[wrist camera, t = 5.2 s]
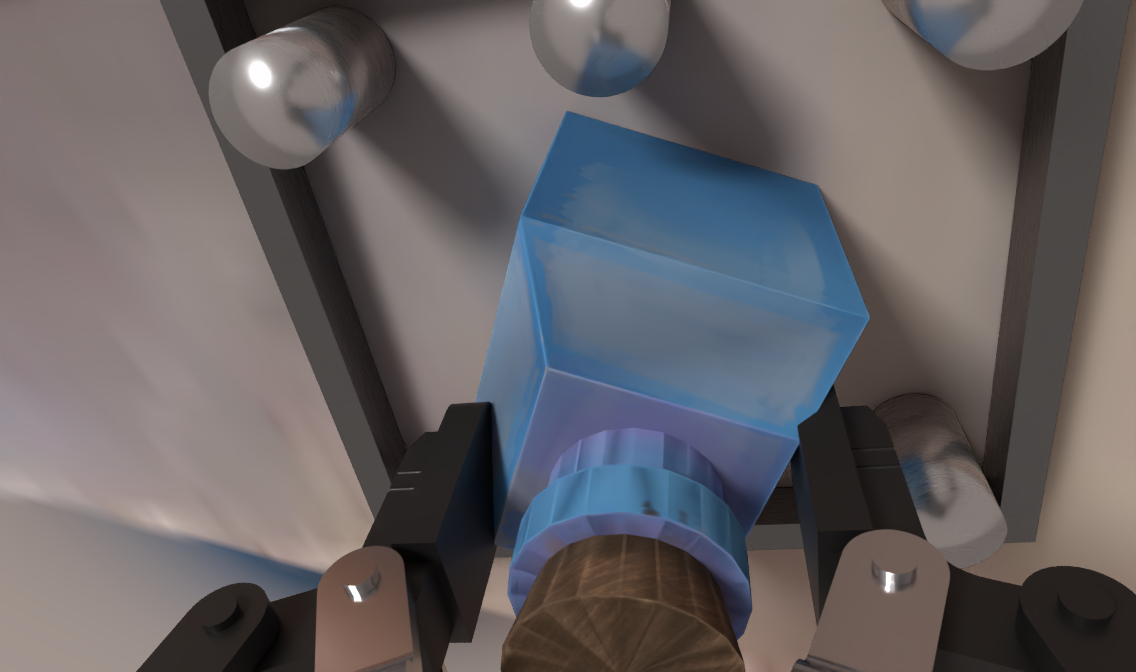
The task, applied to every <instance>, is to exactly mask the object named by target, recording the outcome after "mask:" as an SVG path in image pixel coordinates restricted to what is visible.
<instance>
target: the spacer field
mask: <svg viewBox="0 0 1136 672" xmlns="http://www.w3.org/2000/svg"><path fill="white" fill-rule="evenodd" d="M160 2H161V4H162V7H163V9H164V12H165V14H166V16H167V19H168V21H169V24H170V26H171V28H172V31H173V33H174V36H175V38H176V41H177V43H178V45H179V48H180V50H181V53H182V55H183V57H184V60H185V62H186V65H187V67H188V70H189V72H190V74H191V77H192V79H193V82H194V84H195V86H196V89H197V91H198V94H199V96H200V99H201V101H202V103H203V106H204V108H205V111H206V113H207V115H208V118H209V120H210V123H211V125H212V128H213V130H214V132H215V135H216V137H217V140H218V142H219V144H220V147H221V149H222V152H223V154H224V157H225V159H226V161H227V164H228V166H229V169H230V171H231V173H232V176H233V178H234V181H235V183H236V186H237V188H238V190H239V193H240V195H241V198H242V200H243V202H244V205H245V207H246V210H247V212H248V215H249V217H250V219H251V222H252V224H253V227H254V229H255V232H256V234H257V236H258V239H259V241H260V244H261V246H262V248H263V251H264V253H265V256H266V258H267V261H268V263H269V265H270V268H271V270H272V273H273V275H274V277H275V280H276V282H277V285H278V287H279V290H280V292H281V294H282V297H283V299H284V302H285V304H286V306H287V309H288V311H289V314H290V316H291V319H292V321H293V323H294V326H295V328H296V331H297V333H298V335H299V338H300V340H301V343H302V345H303V348H304V350H305V352H306V355H307V357H308V360H309V362H310V364H311V367H312V369H313V372H314V374H315V377H316V379H317V381H318V384H319V386H320V389H321V391H322V393H323V396H324V398H325V401H326V403H327V406H328V408H329V410H330V413H331V415H332V418H333V420H334V422H335V425H336V427H337V430H338V432H339V435H340V437H341V439H342V442H343V444H344V447H345V449H346V451H347V454H348V456H349V459H350V461H351V464H352V466H353V468H354V471H355V473H356V476H357V478H358V480H359V483H360V485H361V488H362V490H363V493H364V495H365V497H366V500H367V502H368V505H369V507H370V509H371V512H372V514H373V517H374V519H376V516H377V514H378V512H379V510H380V508H381V506H382V503H383V501H384V499H385V497H386V495H387V493H388V492H390V486H391V484H392V482H393V479H394V477H395V475H398V472H397V471H398V469H399V466H400V464H401V462H402V460H403V458H404V456H405V453H406V449H405V446H404V444H403V441H402V438H401V435H400V433H399V430H398V427H397V424H396V422H395V419H394V416H393V413H392V411H391V408H390V405H389V402H388V400H387V397H386V394H385V391H384V389H383V386H382V383H381V380H380V378H379V375H378V372H377V369H376V367H375V364H374V361H373V358H372V356H371V353H370V350H369V347H368V345H367V342H366V339H365V336H364V334H363V331H362V328H361V325H360V323H359V320H358V317H357V314H356V312H355V309H354V306H353V303H352V301H351V298H350V295H349V292H348V290H347V287H346V284H345V281H344V279H343V276H342V273H341V270H340V268H339V265H338V262H337V259H336V257H335V254H334V251H333V248H332V246H331V243H330V240H329V237H328V235H327V232H326V229H325V226H324V224H323V221H322V218H321V215H320V213H319V210H318V207H317V204H316V202H315V199H314V196H313V193H312V191H311V188H310V185H309V182H308V180H307V177H306V174H305V171H304V169H303V165H306V164H307V163H309V162H311V161H312V160H313V159H315V158H316V157H317V156H318V155H319V154H321V153H322V152H323V151H324V150H325V149H327V148H328V147H329V146H330V145H331V144H332V143H334V142H335V141H336V140H337V139H338V138H340V137H341V136H342V135H343V134H344V133H346V132H347V131H348V130H349V129H350V128H351V127H353V126H354V125H355V124H356V123H357V122H359V121H360V120H361V119H362V118H363V117H365V116H366V115H367V114H368V113H369V112H370V111H372V110H373V109H374V108H375V107H376V106H378V105H379V104H380V103H381V102H382V101H383V100H384V99H385V98H386V97H387V95H388V94H389V92H390V90H391V88H392V86H393V82H394V78H395V59H394V55H393V51H392V48H391V46H390V43H389V41H388V39H387V38H386V36H385V34H384V33H383V32H382V30H381V29H380V28H379V27H378V26H377V25H376V24H375V23H374V22H373V21H372V20H371V19H370V18H368V17H367V16H365V15H364V14H362V13H360V12H358V11H356V10H353V9H350V8H346V7H337V6H335V7H327V8H324V9H321V10H319V11H316V12H314V13H312V14H310V15H308V16H305V17H303V18H301V19H299V20H296V21H294V22H292V23H290V24H287V25H285V26H283V27H281V28H279V29H276V30H274V31H272V32H270V33H267V34H265V35H263V36H261V37H258V38H256V37H255V34H254V31H253V28H252V26H251V23H250V20H249V17H248V15H247V12H246V9H245V6H244V4H243V1H242V0H160ZM882 2H883V4H884V5H885V6H886V8H887V9H888V10H889V11H890V12H891V13H892V14H894V15H895V16H896V17H897V18H899V19H900V20H901V21H902V22H903V23H905V24H906V25H907V26H908V27H910V28H911V29H912V30H913V31H915V32H916V33H917V34H918V35H920V36H921V37H922V38H923V39H925V40H926V41H927V42H928V43H929V44H931V45H932V46H933V47H934V48H936V49H937V50H938V51H939V52H941V53H942V54H943V55H944V56H946V57H947V58H948V59H950V60H951V61H953V62H955V63H956V64H958V65H961V66H964V67H966V68H970V69H975V70H999V69H1004V68H1009V67H1012V66H1015V65H1018V64H1020V63H1023V62H1025V61H1027V60H1029V59H1031V58H1032V65H1031V74H1030V82H1029V90H1028V98H1027V107H1026V115H1025V123H1024V132H1023V140H1022V148H1021V157H1020V165H1019V173H1018V181H1017V190H1016V198H1015V206H1014V215H1013V223H1012V231H1011V239H1010V248H1009V256H1008V264H1007V273H1006V281H1005V289H1004V297H1003V306H1002V314H1001V322H1000V331H999V339H998V347H997V355H996V364H995V372H994V380H993V389H992V397H991V405H990V413H989V422H988V430H987V438H986V447H985V455H984V463H983V471H982V470H981V468H980V465H979V463H978V461H977V459H976V457H975V455H974V453H973V451H972V449H971V447H970V444H969V442H968V440H967V438H966V436H965V434H964V432H963V430H962V428H961V425H960V423H959V421H958V419H957V417H956V415H955V413H954V411H953V410H952V408H951V407H950V406H949V405H948V404H947V403H946V402H944V401H943V400H941V399H939V398H937V397H934V396H931V395H926V394H907V395H902V396H898V397H895V398H893V399H890V400H888V401H887V402H885V403H883V404H882V405H880V406H879V407H878V408H877V409H876V410H875V411H874V413H875V414H876V415H877V416H878V417H879V418H880V419H882V420H883V421H884V422H885V423H886V425H887V427H888V430H889V433H890V436H891V439H892V442H893V445H894V450H895V451H896V453H897V456H898V459H899V462H900V468H901V469H902V471H903V474H904V476H905V479H906V482H907V485H908V488H909V491H910V494H911V497H912V500H913V502H914V505H915V508H916V511H917V514H918V517H919V520H920V523H921V525H922V528H923V531H924V534H925V536H926V538H927V541H928V542H929V543H930V544H932V545H933V546H934V547H936V548H937V549H938V550H939V552H940V553H941V554H942V555H943V557H944V558H945V559H946V561H947V562H949V563H951V564H952V565H954V566H955V567H957V568H959V569H961V568H966V567H970V566H973V565H976V564H978V563H980V562H982V561H984V560H986V559H988V558H989V557H990V556H992V555H993V554H994V553H995V552H997V551H998V549H999V548H1000V547H1001V546H1002V544H1003V543H1012V542H1035V539H1036V533H1037V528H1038V522H1039V516H1040V511H1041V505H1042V499H1043V494H1044V488H1045V482H1046V477H1047V471H1048V465H1049V460H1050V454H1051V448H1052V443H1053V437H1054V431H1055V425H1056V420H1057V414H1058V408H1059V403H1060V397H1061V391H1062V386H1063V380H1064V374H1065V369H1066V363H1067V357H1068V352H1069V346H1070V340H1071V334H1072V329H1073V323H1074V317H1075V312H1076V306H1077V300H1078V295H1079V289H1080V283H1081V278H1082V272H1083V266H1084V261H1085V255H1086V249H1087V244H1088V238H1089V232H1090V226H1091V221H1092V215H1093V209H1094V204H1095V198H1096V192H1097V187H1098V181H1099V175H1100V170H1101V164H1102V158H1103V153H1104V147H1105V141H1106V136H1107V130H1108V124H1109V118H1110V113H1111V107H1112V101H1113V96H1114V90H1115V84H1116V79H1117V73H1118V67H1119V62H1120V56H1121V50H1122V45H1123V39H1124V33H1125V28H1126V22H1127V16H1128V10H1129V5H1130V0H882ZM670 5H671V0H533V2H532V6H531V12H530V34H531V40H532V44H533V47H534V50H535V53H536V55H537V57H538V59H539V61H540V63H541V64H542V66H543V67H544V69H545V70H546V71H547V73H548V74H549V75H550V76H551V77H552V78H553V79H554V80H555V81H557V82H558V83H559V84H560V85H562V86H564V87H565V88H567V89H569V90H571V91H573V92H575V93H578V94H581V95H585V96H591V97H608V96H613V95H618V94H620V93H623V92H626V91H628V90H630V89H632V88H633V87H635V86H636V85H638V84H639V83H641V82H642V81H643V80H644V79H645V78H646V77H647V76H648V75H649V74H650V73H651V72H652V70H653V69H654V68H655V66H656V65H657V63H658V62H659V60H660V58H661V56H662V53H663V51H664V48H665V45H666V41H667V36H668V26H669V16H670ZM745 542H746V549H747V550H770V549H804V546H803V540H802V534H801V528H800V522H799V516H798V510H797V504H796V498H795V492H794V487H790V488H775V489H774V490H773V492H772V494H771V496H770V498H769V499H768V501H767V503H766V505H765V506H764V508H763V510H762V512H761V514H760V515H759V517H758V519H757V521H756V523H755V524H754V526H753V528H752V530H751V531H750V533H749V535H748V537H747V539H746V540H745ZM513 552H514V550H511V549H508V548H504V547H501V546H497V549H496V553H495V556H494V557H513Z"/></svg>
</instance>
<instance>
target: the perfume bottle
mask: <svg viewBox="0 0 1136 672" xmlns="http://www.w3.org/2000/svg"><path fill="white" fill-rule="evenodd" d="M869 319H870V316H869V313H868V311H867V308H866V306H865V303H864V301H863V298H862V296H861V293H860V291H859V288H858V286H857V283H856V281H855V278H854V276H853V273H852V271H851V268H850V266H849V263H848V261H847V258H846V256H845V253H844V251H843V248H842V246H841V243H840V241H839V238H838V236H837V233H836V231H835V228H834V226H833V223H832V221H831V218H830V216H829V213H828V211H827V208H826V205H825V203H824V200H823V198H822V195H821V193H820V190H819V188H818V185H814V184H811V183H808V182H804V181H801V180H798V179H794V178H791V177H787V176H784V175H781V174H777V173H774V172H771V171H767V170H764V169H760V168H757V167H754V166H750V165H747V164H744V163H740V162H737V161H734V160H730V159H727V158H723V157H720V156H717V155H713V154H710V153H707V152H703V151H700V150H697V149H693V148H690V147H686V146H683V145H680V144H676V143H673V142H670V141H666V140H663V139H659V138H656V137H653V136H649V135H646V134H643V133H639V132H636V131H633V130H629V129H626V128H622V127H619V126H616V125H612V124H609V123H606V122H602V121H599V120H596V119H592V118H589V117H585V116H582V115H579V114H575V113H572V112H569V111H566V113H565V116H564V118H563V120H562V122H561V125H560V127H559V129H558V132H557V134H556V136H555V138H554V141H553V143H552V145H551V147H550V150H549V152H548V154H547V157H546V159H545V161H544V163H543V166H542V168H541V170H540V172H539V175H538V177H537V179H536V182H535V184H534V186H533V188H532V191H531V193H530V195H529V197H528V200H527V202H526V204H525V207H524V209H523V211H522V213H521V216H520V220H519V224H518V228H517V232H516V236H515V240H514V244H513V248H512V252H511V257H510V261H509V265H508V269H507V273H506V277H505V281H504V285H503V289H502V293H501V298H500V302H499V306H498V310H497V314H496V318H495V322H494V326H493V330H492V335H491V339H490V343H489V347H488V351H487V355H486V359H485V363H484V367H483V371H482V376H481V380H480V384H479V388H478V392H477V396H476V400H475V402H490V403H491V416H492V462H493V507H494V544H495V545H497V546H501V547H504V548H508V549H511V550H514V552H513V557H512V561H511V565H510V570H509V582H508V596H509V599H510V602H511V604H512V607H513V610H514V612H515V615H516V620H515V622H514V624H513V626H512V628H511V630H510V632H509V634H508V636H507V638H506V640H505V642H504V644H503V647H502V659H501V672H745V666H744V661H743V658H742V655H741V652H740V649H739V646H738V643H737V640H738V639H739V638H740V637H741V636H742V635H743V634H744V632H745V629H746V626H747V623H748V620H749V617H750V614H751V611H752V599H751V588H750V577H749V566H748V556H747V549H746V542H745V540H746V539H747V537H748V535H749V533H750V531H751V530H752V528H753V526H754V524H755V523H756V521H757V519H758V517H759V515H760V514H761V512H762V510H763V508H764V506H765V505H766V503H767V501H768V499H769V498H770V496H771V494H772V492H773V490H774V489H775V487H776V485H777V483H778V482H779V480H780V478H781V476H782V474H783V473H784V471H785V469H786V467H787V465H788V464H789V462H790V460H791V458H792V456H793V454H794V452H795V450H796V449H797V447H798V445H799V435H798V428H797V425H799V424H800V423H801V422H803V421H804V420H806V419H807V418H808V417H810V416H811V415H813V414H814V413H816V412H817V411H818V409H819V408H820V406H821V404H822V402H823V401H824V399H825V397H826V395H827V394H828V392H829V390H830V388H831V387H832V385H833V384H834V382H835V380H836V378H837V376H838V375H839V373H840V371H841V369H842V367H843V366H844V364H845V362H846V360H847V359H848V357H849V355H850V353H851V351H852V350H853V348H854V346H855V344H856V343H857V341H858V339H859V337H860V335H861V334H862V332H863V330H864V328H865V327H866V325H867V323H868V321H869Z"/></svg>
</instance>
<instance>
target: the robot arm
mask: <svg viewBox="0 0 1136 672" xmlns="http://www.w3.org/2000/svg"><path fill="white" fill-rule="evenodd" d="M797 428H798V435H799V445H798V447H797V449H796V450H795V452H794V454H793V456H792V458H791V471H792V479H793V486H794V492H795V498H796V504H797V510H798V516H799V522H800V528H801V534H802V540H803V546H804V552H805V558H806V564H807V569H808V575H809V581H810V587H811V593H812V599H813V605H814V611H815V617H816V623H817V629H816V632H815V635H814V638H813V641H812V644H811V647H810V650H809V653H808V655H807V658H806V659H805V660H802V659H798V660H797V661H796V663H795V664H794V666H793V668H792V670H791V672H1136V595H1135V594H1134V593H1133V592H1132V591H1131V590H1129V589H1128V588H1127V587H1126V586H1124V585H1123V584H1121V583H1119V582H1118V581H1116V580H1114V579H1112V578H1110V577H1108V576H1106V575H1104V574H1101V573H1098V572H1095V571H1093V570H1089V569H1084V568H1080V567H1072V566H1056V567H1049V568H1045V569H1041V570H1039V571H1037V572H1035V573H1033V574H1032V575H1031V576H1029V577H1028V578H1027V579H1026V580H1025V582H1024V583H1023V585H1022V586H1019V585H1014V584H1010V583H1005V582H1001V581H996V580H992V579H987V578H983V577H980V576H976V575H973V574H971V573H968V572H965V571H963V570H961V569H959V568H957V567H955V566H954V565H952V564H951V563H949V562H947V561H946V559H945V558H944V557H943V555H942V554H941V553H940V552H939V550H938V549H937V548H936V547H934V546H933V545H932V544H930V543H929V542H928V541H927V538H926V536H925V534H924V531H923V528H922V525H921V523H920V520H919V517H918V514H917V511H916V508H915V505H914V502H913V500H912V497H911V494H910V491H909V488H908V485H907V482H906V479H905V476H904V474H903V471H902V469H901V468H900V462H899V459H898V456H897V453H896V451H895V450H894V445H893V442H892V439H891V436H890V433H889V430H888V427H887V425H886V423H885V422H884V421H883V420H882V419H880V418H879V417H878V416H877V415H876V414H875V413H874V412H873V411H872V410H871V409H870V408H869V407H868V406H850V407H839V403H838V400H837V396H836V392H835V389H834V385H832V387H831V388H830V390H829V392H828V394H827V395H826V397H825V399H824V401H823V402H822V404H821V406H820V408H819V409H818V411H817V412H816V413H814V414H813V415H811V416H810V417H808V418H807V419H806V420H804V421H803V422H801V423H800V424H799V425H797ZM397 472H398V475H395V477H394V479H393V482H392V484H391V486H390V492H388V493H387V495H386V497H385V499H384V501H383V503H382V506H381V508H380V510H379V512H378V514H377V516H376V519H375V521H374V523H373V525H372V527H371V530H370V532H369V534H368V536H367V538H366V540H365V543H364V545H363V547H362V548H360V549H358V550H355V551H352V552H350V553H348V554H346V555H345V556H343V557H342V558H340V559H339V560H337V561H336V562H335V563H334V564H333V565H332V566H331V567H330V568H329V569H328V570H327V571H326V572H325V574H324V575H323V577H322V579H321V580H320V583H319V586H318V588H316V589H313V590H310V591H307V592H303V593H300V594H296V595H293V596H290V597H286V598H283V599H280V600H276V601H273V602H270V601H269V599H268V597H267V595H266V593H265V591H264V590H263V589H262V588H261V587H259V586H258V585H255V584H252V583H236V584H231V585H228V586H225V587H222V588H220V589H218V590H216V591H214V592H212V593H210V594H209V595H207V596H205V597H204V598H203V599H201V600H200V601H199V602H198V603H196V604H195V605H194V606H193V607H192V608H191V609H190V610H189V612H187V614H186V615H185V616H184V617H183V618H182V620H181V621H180V622H179V623H178V624H177V625H176V626H175V628H174V629H173V630H172V631H171V632H170V633H169V635H168V636H167V637H166V638H165V639H164V640H163V641H162V643H161V644H160V645H159V646H158V647H157V648H156V649H155V651H154V652H153V653H152V654H151V655H150V657H149V658H148V659H147V660H146V661H145V662H144V663H143V665H142V666H141V667H140V668H139V669H138V670H137V671H136V672H447V669H446V666H445V664H444V659H445V655H446V652H447V649H448V645H449V643H461V642H462V643H463V642H464V643H467V642H468V643H471V642H472V638H473V635H474V631H475V627H476V623H477V620H478V616H479V613H480V609H481V605H482V601H483V598H484V594H485V590H486V586H487V583H488V579H489V575H490V571H491V568H492V564H493V560H494V556H495V553H496V549H497V545H495V544H494V507H493V462H492V416H491V403H490V402H475V403H461V404H451V405H450V406H449V407H448V409H447V411H446V413H445V416H444V418H443V421H442V423H441V425H440V428H439V430H438V432H425V433H424V434H423V435H422V436H421V437H420V438H419V439H418V440H417V441H416V442H415V443H414V444H413V445H412V446H411V447H410V448H409V449H408V450H407V451H406V453H405V456H404V458H403V460H402V462H401V464H400V466H399V469H398V471H397Z"/></svg>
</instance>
